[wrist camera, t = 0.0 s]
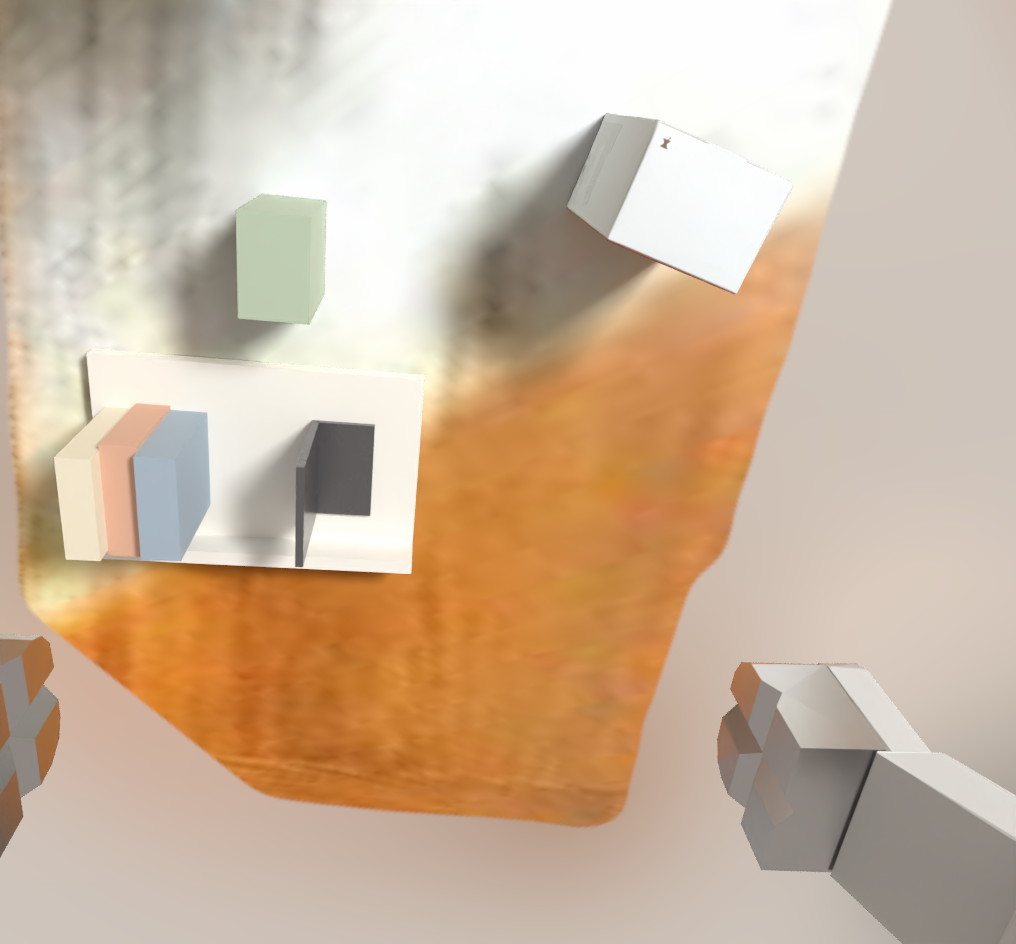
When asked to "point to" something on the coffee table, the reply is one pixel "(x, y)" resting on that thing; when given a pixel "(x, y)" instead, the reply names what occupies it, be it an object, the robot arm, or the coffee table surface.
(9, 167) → the coffee table surface
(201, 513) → the slotted holder
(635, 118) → the small box
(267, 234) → the sage green cuboid
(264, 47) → the coffee table surface
